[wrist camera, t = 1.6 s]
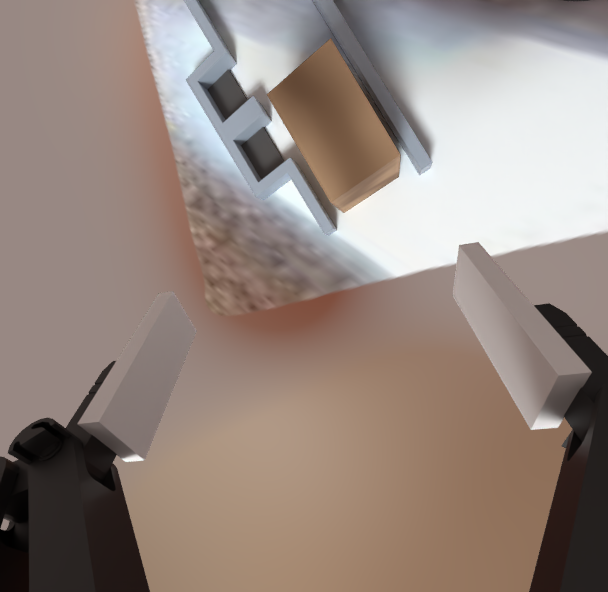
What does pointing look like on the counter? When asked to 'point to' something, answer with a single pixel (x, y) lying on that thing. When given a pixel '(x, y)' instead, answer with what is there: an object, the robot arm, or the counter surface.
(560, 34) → the counter surface
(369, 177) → the walnut block
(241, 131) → the trap lane
